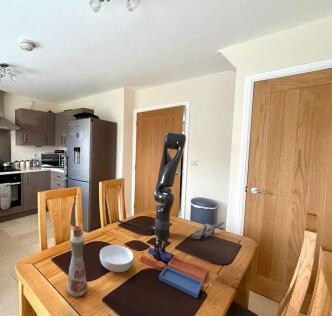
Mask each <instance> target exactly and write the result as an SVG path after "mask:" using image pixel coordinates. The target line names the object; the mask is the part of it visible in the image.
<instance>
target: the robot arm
mask: <svg viewBox="0 0 332 316" xmlns="http://www.w3.org/2000/svg"><path fill="white" fill-rule="evenodd" d="M186 142H187V136H186V134H185V133H180V132H172V131H167V132H166V133H165V135H164V138H163V144H162V153H161V159H160V162H159V163H160V164H159V168H158V174H157V181H156V185H155V188H154V193H153V199H154V201H155V202H156V203H158V204H156V206H155V216H154V217H155V219H154V220H153V225H151V226H148V227H147V228H145V227H143V226H141V225H139V224H135V223H133V222H127V221H123V220H119V219H118V218H114V219H113V220H114V221H117V222H119V223H122V224H127V225H132V226H135V227H138V228H140V229H142V230H145V231H149V230H151V231H153V234H154V235H155V236H156V237H157V238H156V240H154V243H153V244H154V245H153V246H154V247H153V248H154V252H156V256H155V258H156V259H158V260H160V259H161V258H160V255H161V252H164V253H166V248H167V245H168V239H169V237H170V229H171V228H170V226H171V222H170V221H171V220H170V218H171V211H172V208H173V205H174V203H175V195H174V193H173V191H172V188H173V187H174V185H175V181H176V175H177V172H178V169H179V165H180V163H181V159H182V157H183V153H184V151H185V147H186ZM170 150H175V151H176V153H175V155H174V156H173V157H172V155H171V153H170Z"/></svg>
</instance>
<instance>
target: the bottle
mask: <svg viewBox="0 0 332 316" xmlns="http://www.w3.org/2000/svg"><path fill="white" fill-rule="evenodd" d="M72 232H73V234H72V235H71V236H70V237H69V244H70V251H71V258H70V264H69V268H68V274H67V275H68V276H67V281H66V291H67V293H68V294H69V295H70V296H71V297H74V298H75V297H76V298H77V297H81V296H83V295H85V294H86V292H87V291H88V280H87V273H86V268H85V262H84V261H85V260H84V257H83V253H84V246H85V241H86V240H85V237H84V236H83V235H82V227H81V226H80V225H75V226H73V228H72Z"/></svg>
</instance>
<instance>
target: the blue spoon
mask: <svg viewBox="0 0 332 316" xmlns="http://www.w3.org/2000/svg"><path fill="white" fill-rule="evenodd" d="M148 254H150V255H152V256H155V257H156V252H154V247H151V246H150V247H148ZM172 258H173V257H172V254H170V253H168V252H165V253H164V252H161V255H160V259H162V261H164V262H165V263H166V262H167V263H169V262H170V260H171V259H172Z"/></svg>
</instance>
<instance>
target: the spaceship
mask: <svg viewBox="0 0 332 316" xmlns="http://www.w3.org/2000/svg"><path fill="white" fill-rule="evenodd" d="M224 224H225V222H224V221H221V222H219V223H216V224H213V225H211V224H210V223H205V224H204V225H203V227H202V226H200V227H198V229H197V230H195V231H194V232H193V234H192V236H191V238H192V239H194V240H200V239H201V238H202V237H204V238H207V237H208V236H213V235H215V233H216V231H215V230H216V229H217V228H220V227H221V226H223V225H224Z"/></svg>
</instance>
